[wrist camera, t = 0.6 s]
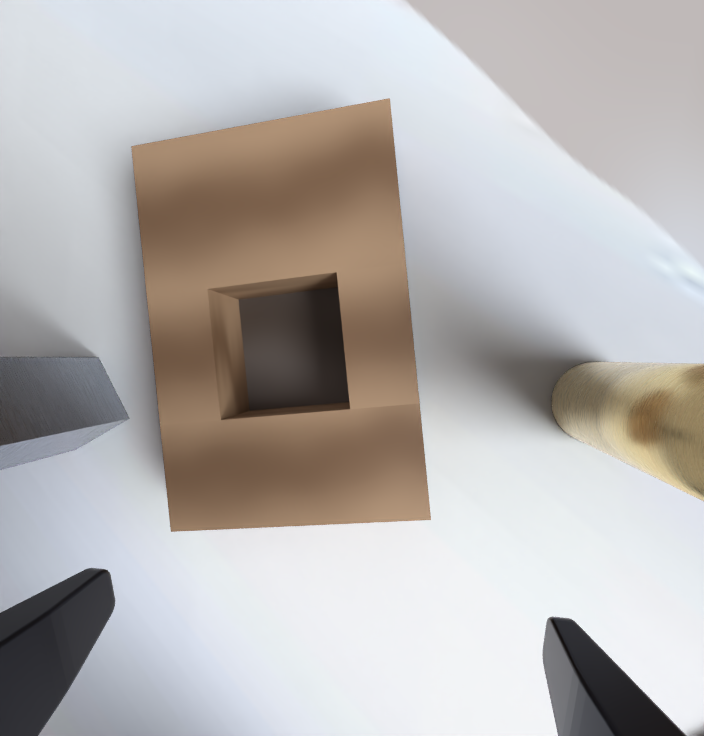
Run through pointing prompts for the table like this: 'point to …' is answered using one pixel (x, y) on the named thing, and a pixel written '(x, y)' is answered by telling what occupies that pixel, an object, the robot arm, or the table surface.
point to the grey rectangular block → (53, 406)
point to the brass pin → (639, 416)
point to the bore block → (282, 323)
